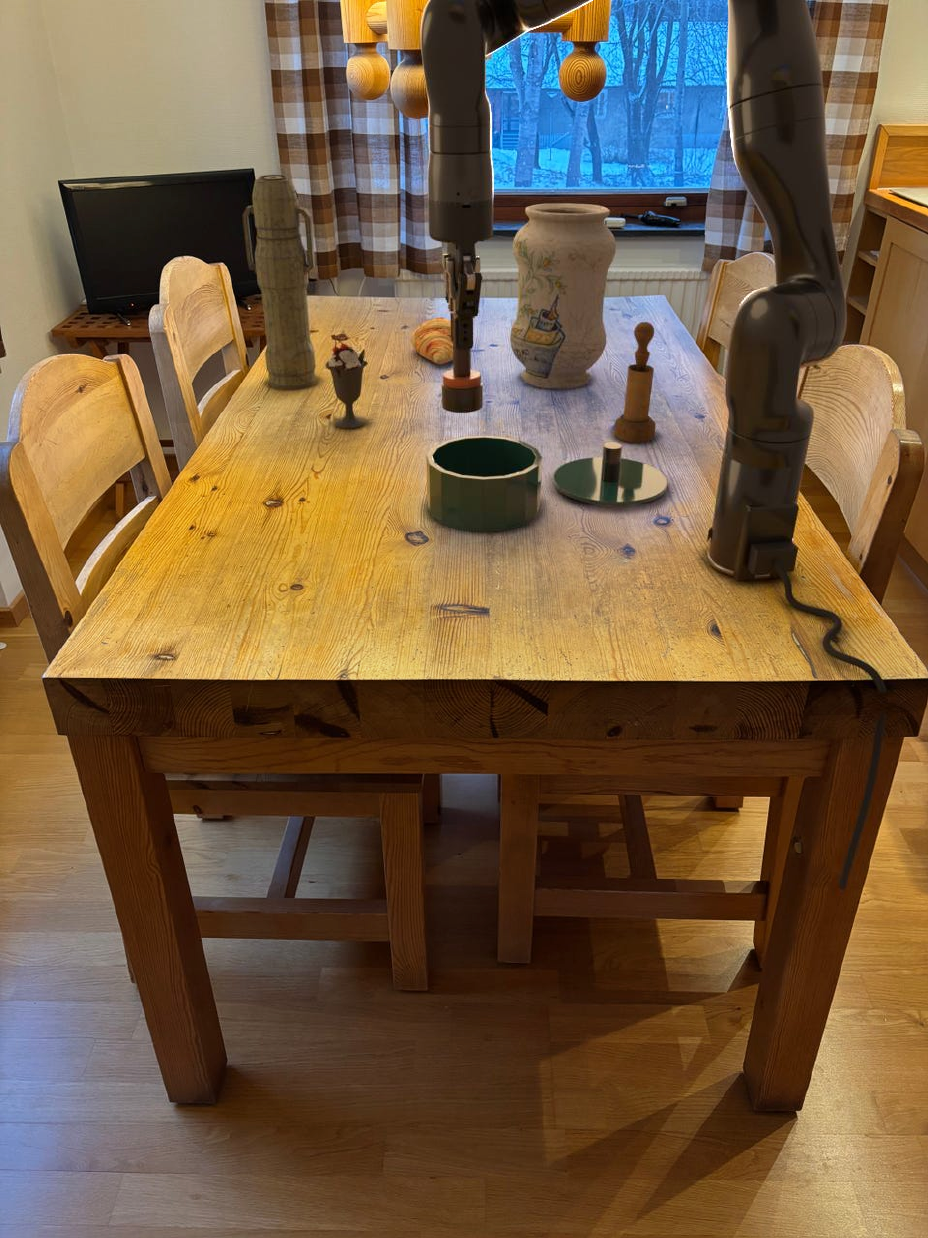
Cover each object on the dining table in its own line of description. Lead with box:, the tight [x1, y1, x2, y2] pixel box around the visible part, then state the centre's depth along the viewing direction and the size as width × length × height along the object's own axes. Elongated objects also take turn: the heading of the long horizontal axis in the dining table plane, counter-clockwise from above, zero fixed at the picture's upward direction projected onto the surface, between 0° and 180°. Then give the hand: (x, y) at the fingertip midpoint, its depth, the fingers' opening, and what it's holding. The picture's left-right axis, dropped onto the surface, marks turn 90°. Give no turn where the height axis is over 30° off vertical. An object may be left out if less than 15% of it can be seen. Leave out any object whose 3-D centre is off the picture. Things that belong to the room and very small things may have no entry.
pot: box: [425, 435, 543, 533], centre depth 130 cm, size 15×15×8 cm
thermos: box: [241, 174, 317, 390], centre depth 170 cm, size 9×12×35 cm
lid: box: [552, 441, 668, 507], centre depth 137 cm, size 16×16×6 cm
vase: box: [509, 203, 617, 390], centre depth 173 cm, size 18×18×30 cm
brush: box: [441, 299, 484, 414], centre depth 120 cm, size 5×5×14 cm
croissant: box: [410, 317, 453, 365], centre depth 194 cm, size 21×10×8 cm, turn 7°
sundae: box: [325, 334, 369, 430], centre depth 157 cm, size 7×7×15 cm
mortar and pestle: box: [613, 321, 657, 444], centre depth 151 cm, size 7×6×18 cm
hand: (461, 345), depth 120 cm, fingers closed on brush
